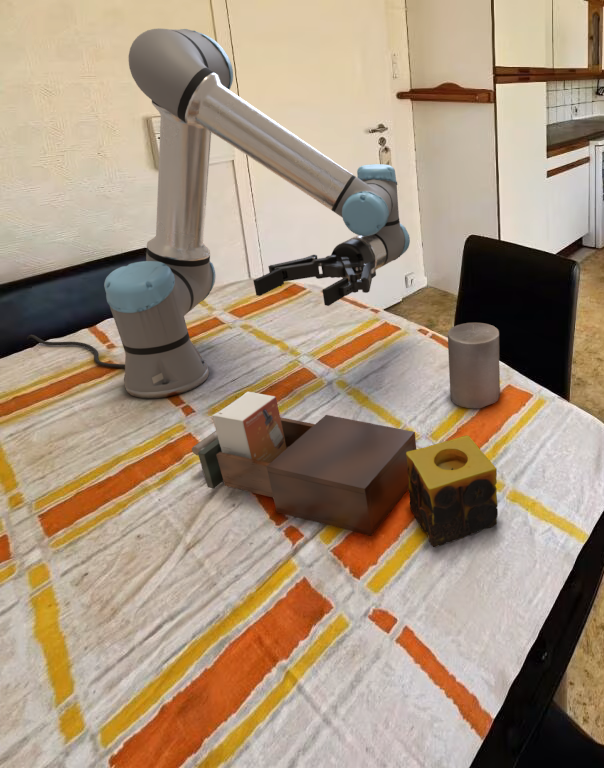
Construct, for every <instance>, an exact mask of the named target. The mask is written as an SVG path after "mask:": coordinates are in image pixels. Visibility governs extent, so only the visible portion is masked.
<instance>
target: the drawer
mask: <svg viewBox="0 0 604 768" xmlns="http://www.w3.org/2000/svg"><path fill="white" fill-rule="evenodd" d="M280 418H281V423H282V428H283V433H284V438H285V443H286V448H288V447H289V446H290V445H292V444H293V443H294V442H295V441H296V440H297V439H299V438H300V437H301V436H302V435H303V434H304V433H306V432H307V431H308V430H309V429H310V428H311V427H312V426H314V425H315V424H316V423H311V422H306V421H302V420H298V419H292V418H287V417H282V416H280ZM191 452H192V453H193V454H194V455H195V456H198V459H199V462H200V466H201V469H202V473H203V475H204V479H205V483H206V486H207V488H209V489H212V490H214V489H216V488H217V487H218V486H220V485H221V484H222V483H223V484H224V486H225V487H228V488H232V489H236V490H240V491H245V492H249V493H253V494H257V495H261V496H265V497H269V498H273V493H272V489H271V485H270V480H269V476H268V471H267V468H266V466H267V465H268V464H270V463H267V462H263V461H258V460H254V459H250V458H245V457H241V456H236V455H232V454H227V453H223V452H222V451H221V447H220V443H219V440H218V436H217V432H216V430H214V431H213V432H211V433H210V434H209V435H207V436H206V437H205V438H203V439H202V440H201V441H198V443H196V444H195V445H193V446H192V447H191Z"/></svg>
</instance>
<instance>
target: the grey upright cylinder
mask: <svg viewBox="0 0 604 768" xmlns="http://www.w3.org/2000/svg"><path fill="white" fill-rule="evenodd" d="M447 349H448V350H447V351H448V352H447V353H448V373H449V375H448V376H449V396H450V400H451V402H452V403H453V404H455V405H457V406H458V407H461V408H466V409H481V408H485V407H487V406H490V405H492V404H495V403H496V402H498V401H499V398H500V396H501V394H500V392H501V391H500V390H501V381H500V380H501V379H500V377H501V376H500V375H501V374H500V372H501V371H500V330H499V329H498V328H497V327H495V326H494V325H491V324H489V323H484V322H466V323H460V324H457V325H454V326H452V327H451V328H449V330H448V331H447Z"/></svg>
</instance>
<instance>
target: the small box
mask: <svg viewBox="0 0 604 768" xmlns="http://www.w3.org/2000/svg"><path fill="white" fill-rule="evenodd" d="M280 417H281V413H280V408H279V404H278V400H277V396H275V395H269V394H264V393H258V392H254V391H246V392H245V393H244V394H243V395H241V396H239V397H238V398H236V399H235V400H234V401H231V403H229V404H228V405H227V406H225V407H223V408H222V409H220V410H219V411H217V412H215V413H214V414H212V420H213V424H214V429H215V431H216V432H217V436H218V440H219V443H220V447H221V451H222V452H223V453H227V454H232V455H236V456H241V457H245V458H250V459H254V460H258V461H263V462H267V463H271V462H272V461H273V460H274V459H275V458H277V457H278V456H279V455H280V454H281V453H282V452H283V451H285V450H286V449H287V448H286V443H285V438H284V433H283V428H282V423H281V418H280Z"/></svg>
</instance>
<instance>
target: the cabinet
mask: <svg viewBox="0 0 604 768" xmlns="http://www.w3.org/2000/svg"><path fill="white" fill-rule="evenodd" d="M314 424H315V425H314V426H312V427H311V428H310V429H309V430H308V431H307V432H306V433H304V434H303V435H302V436H301V437H300V438H299V439H297V440H296V441H295V442H294V443H293V444H292V445H290V446H289V447H288V448H287V449H286V450H285V451H283V452H282V453H281V454H280V455H279V456H278V457H277V458H275V459H274V460H273V461H272V462H271V463H270V464H268V465H267V466H266V468H267V471H268V476H269V480H270V485H271V489H272V493H273V497H272V499H273V501H274V502H273V503H274V507H275V511H276V513H277V514H282V515H286V516H290V517H293V518H297V519H302V520H306V521H309V522H313V523H318V524H321V525H325V526H329V527H333V528H337V529H342V530H344V531H346V530H347V531H350V532H353V533H357V534H361V535H366V536H368V537H369V536H370V537H372V536H373V535H374V534H375V533H376V531H377V530H378V529H379V528H380V526H381V525H382V523H384V521H385V520H386V518H387V517H388V516H389V514H390V513H391V512H392V510H394V508H395V507H396V506H397V504H398V503H399V502H400V500H401V499H402V498H403V496H405V494H406V493H407V492H408V489H409V477H408V464H407V456H406V452H408V451H412V450H416V449H417V441H416V440H417V439H416V432H415V431H412V430H408V429H402V428H398V427H392V426H387V425H382V424H381V425H380V424H376V423H371V422H366V421H360V420H355V419H351V418H346V417H345V418H344V417H340V416H336V415H330V414H325V415H324V416H323V417H322V418H320V419H319V420H318V421H317V422H316V423H314Z"/></svg>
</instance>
